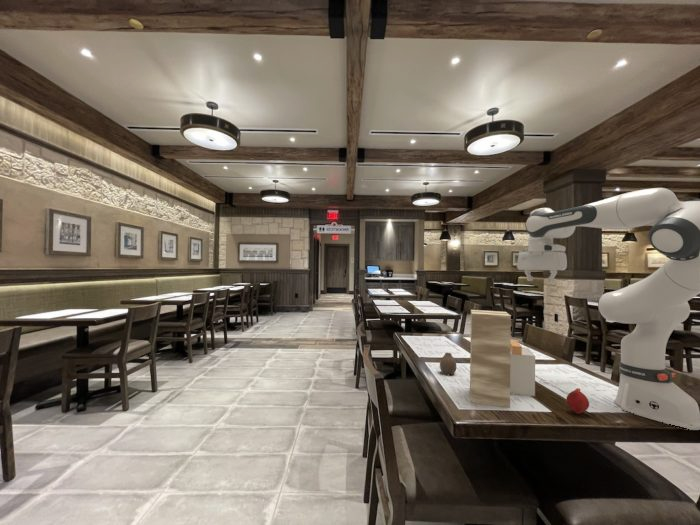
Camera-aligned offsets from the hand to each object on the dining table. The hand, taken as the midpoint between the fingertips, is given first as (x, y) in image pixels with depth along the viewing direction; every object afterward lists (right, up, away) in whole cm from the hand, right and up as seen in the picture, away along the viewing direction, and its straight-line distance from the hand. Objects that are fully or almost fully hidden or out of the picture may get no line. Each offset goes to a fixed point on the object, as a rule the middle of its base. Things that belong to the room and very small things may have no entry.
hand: (540, 281), depth 134 cm
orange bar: (-15, -26, -7) cm, 31 cm away
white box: (-16, -41, -9) cm, 44 cm away
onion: (-6, -40, -31) cm, 51 cm away
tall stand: (-30, -40, -20) cm, 54 cm away
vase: (-36, -41, +7) cm, 55 cm away
